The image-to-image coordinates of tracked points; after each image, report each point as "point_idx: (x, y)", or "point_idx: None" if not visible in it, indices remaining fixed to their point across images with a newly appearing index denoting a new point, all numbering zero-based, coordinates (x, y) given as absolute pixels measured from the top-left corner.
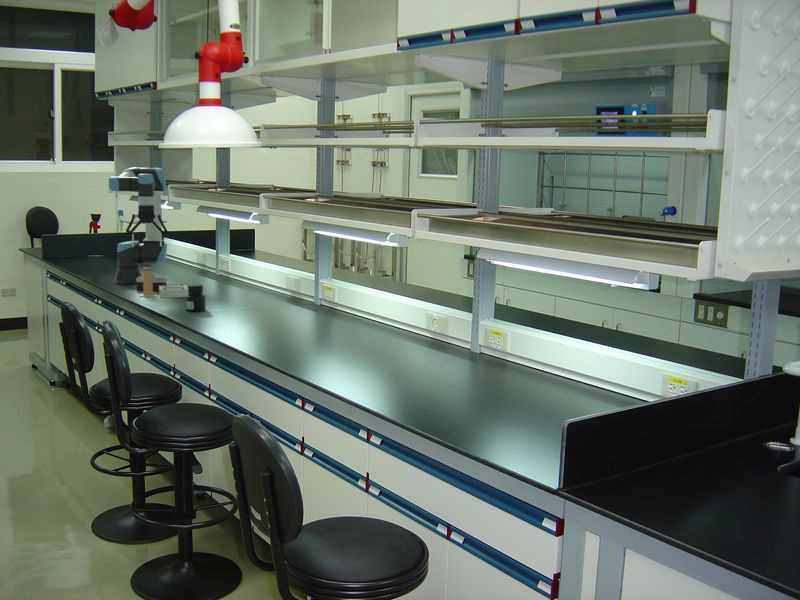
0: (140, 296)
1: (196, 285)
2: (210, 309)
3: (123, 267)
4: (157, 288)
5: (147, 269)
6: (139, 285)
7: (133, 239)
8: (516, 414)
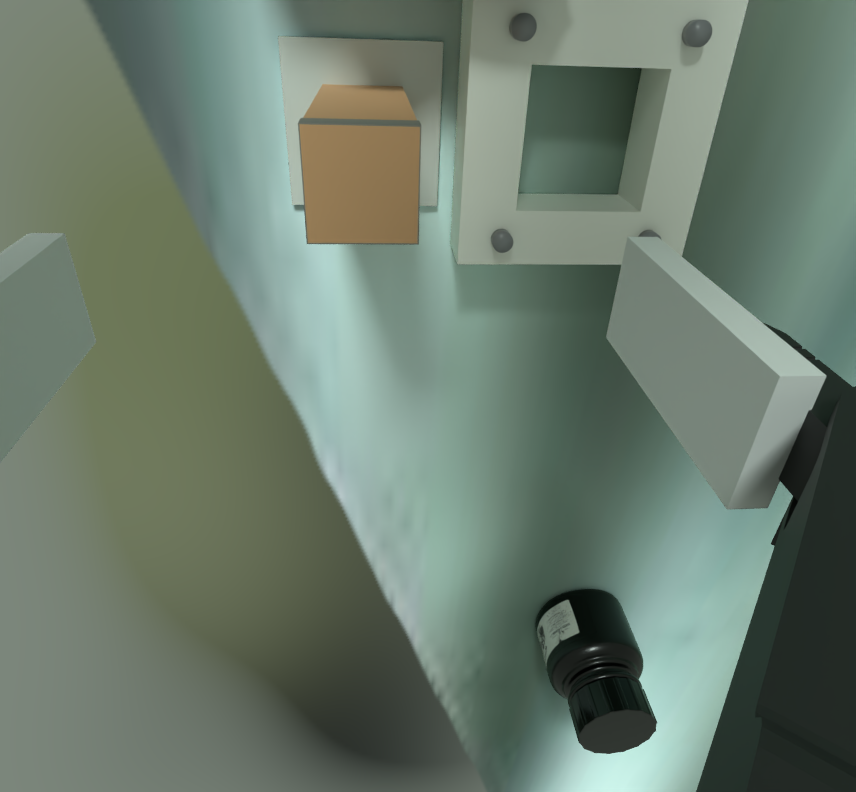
0: (303, 203)
1: (620, 737)
2: (646, 602)
3: None
4: None
5: (360, 240)
6: None
7: (19, 432)
8: None
